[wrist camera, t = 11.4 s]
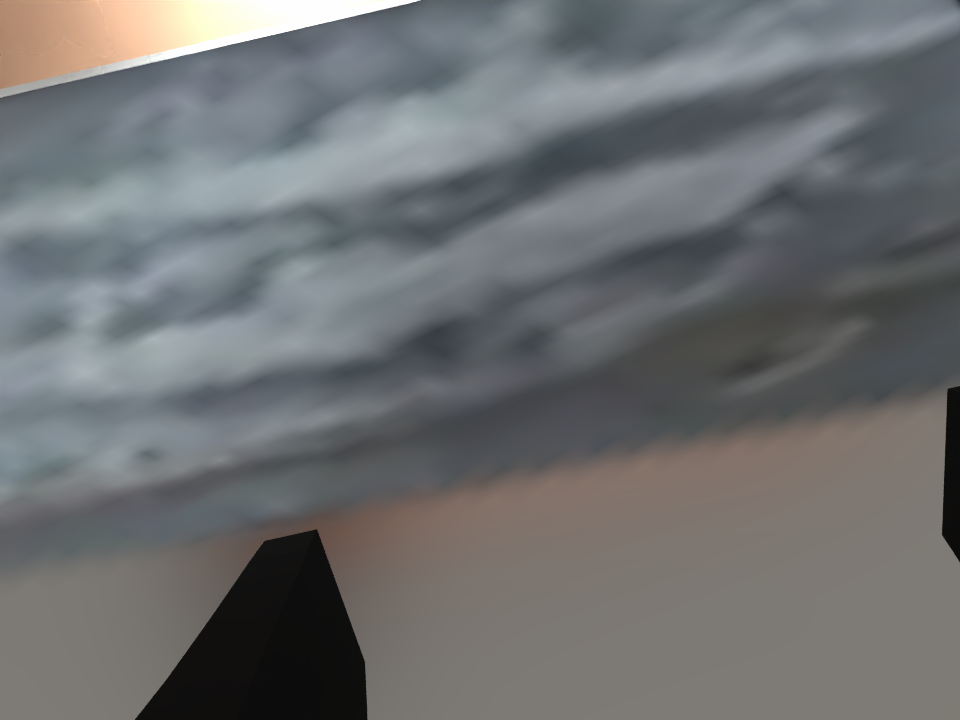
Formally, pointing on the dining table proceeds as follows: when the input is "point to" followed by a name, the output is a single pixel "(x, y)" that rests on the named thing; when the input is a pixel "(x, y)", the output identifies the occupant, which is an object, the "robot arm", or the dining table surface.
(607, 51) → the dining table surface
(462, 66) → the dining table surface
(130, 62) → the orange-brown socket block
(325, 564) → the robot arm
